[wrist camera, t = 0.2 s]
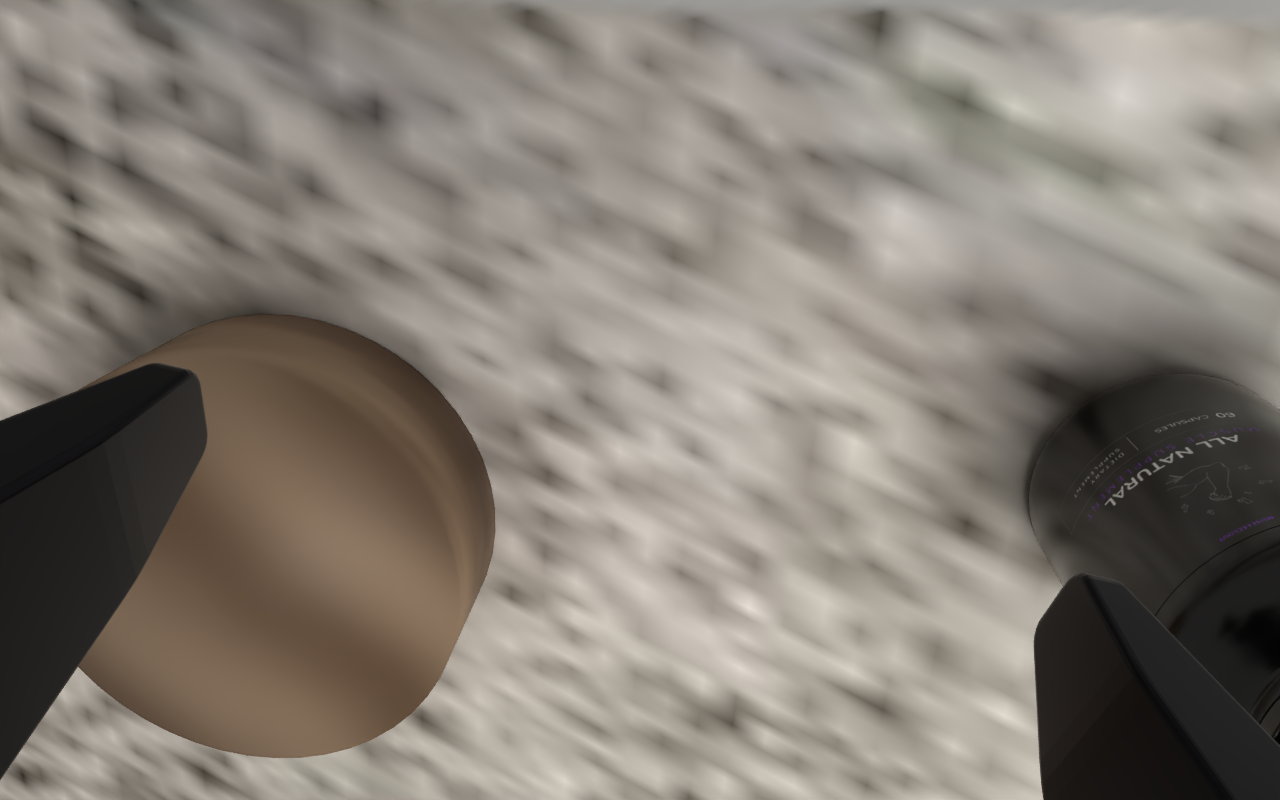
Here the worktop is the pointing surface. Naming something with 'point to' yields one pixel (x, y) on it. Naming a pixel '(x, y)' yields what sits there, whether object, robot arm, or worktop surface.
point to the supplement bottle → (1177, 518)
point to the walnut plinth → (302, 546)
